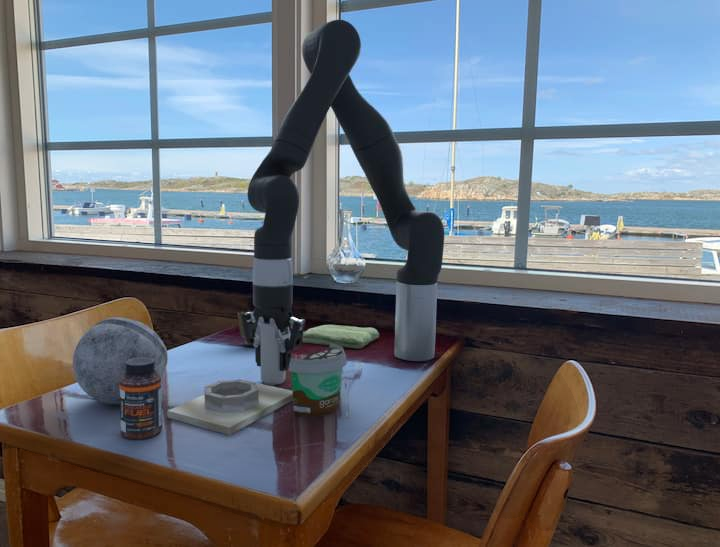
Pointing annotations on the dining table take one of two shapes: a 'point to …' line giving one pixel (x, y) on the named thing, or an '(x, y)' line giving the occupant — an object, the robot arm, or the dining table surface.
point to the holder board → (233, 418)
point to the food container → (317, 382)
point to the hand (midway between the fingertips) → (272, 367)
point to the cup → (243, 327)
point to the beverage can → (270, 356)
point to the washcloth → (340, 336)
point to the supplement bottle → (140, 399)
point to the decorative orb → (114, 355)
